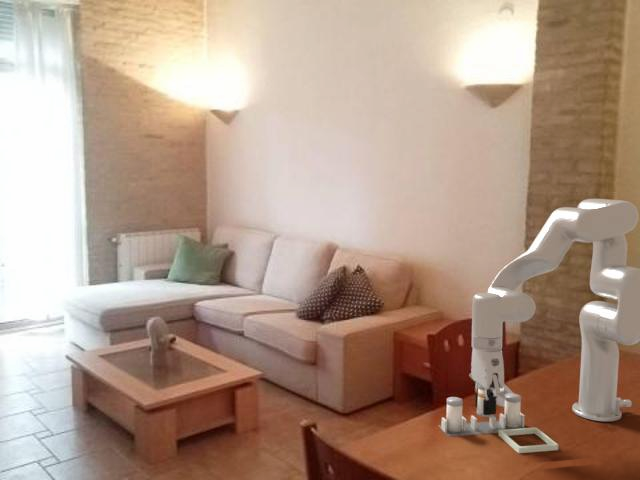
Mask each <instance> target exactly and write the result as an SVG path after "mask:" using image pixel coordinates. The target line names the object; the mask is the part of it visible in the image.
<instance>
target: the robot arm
mask: <svg viewBox="0 0 640 480" xmlns="http://www.w3.org/2000/svg"><path fill="white" fill-rule="evenodd" d="M639 216H640V215H639V211H638V208H637V207H636V206H635V204H634V203H632V202H630V201H626V200H622V199H609V198H608V199H607V198H586V199H583V200H581V201H580V202H579V203H578V204H577V207H572V206H571V207H570V206H569V207H567V206H565V207H558V208H556V209H555V210H553V211H552V213H551V214H550V215H549V216H548V218H547V219H546V221H545V223H544V225H543V226H542V227H541V229H540V231H539V232H538V234H537V235H536V236H535V238H534V240H533V242H531V245H530V246H529V247H528V248H527V250H526V251H525V252H523V253H522V254H520V255H519V256H518V257H516V258H515V259H513V260H512V261H511V262H509V263H508V264H507V265H505V266H504V267H503V268H502V269H501V270H500V271H499V272H498V273H497V274H496V276H495V277H494V279H493V281H492V282H491V284H490V286H489V287H488V288H487V291H486V292H479V293H478V292H477V293H475V294H474V295H473V297H472V305H471V312H472V313H471V348H472V350H471V351H472V352H471V364H470V371H471V372H470V373H471V375H472V378H473V379H474V381H473V383H474V384H475V385H474V386H475V387H474V391H475V399H474V400H475V403H474V404H475V405H474V407H475V408H476V409H477V402H478V383H479V384H480V385H481V386H483V387H484V389H485V399H484V401H483V414H484V415H492V414H493V415H495V414H497V404H496V400H497V396H498V395H500V394H501V392H500V388H503V387H504V384H505V367H504V366H505V365H504V357H503V351H502V349H503V329H504V328H503V323H504V322H507V323H508V322H510V323H523V322H526V321H529V320H530V319H531V318H533V316H534V315H535V313H536V309H537V305H536V302H535V300H534V299H533V298H532V297H531V296H530V295H528V294H526V293H524V292H522V291H517V289H518V288H519V287H520V286H521V285H522V284H523V283H524V282H526V281H528V280H529V279H531V278H534V277H537V276H540V275H544V274H548V273H550V272H552V271H554V270H556V269H557V268H558V267H559V265H560V264H561V262H562V261H563V259H564V257H565V255H567V253H568V251H569V249H571V246H572V245H573V243H574V242H581V243H592V258H591V265H590V266H591V267H590V274H589V275H590V276H589V288H590V290H591V292H592V293H593V294H595V295H596V296H600V297H602V298H606V299H609V300H613V301H617V304H614V303H610V302H606V301H603V300H592V301H589V302H587V303H585V304H584V306H583V307H581V310H580V312H579V317H578V319H579V320H578V321H579V329H580V337H581V352H580V354H581V355H580V372H579V375H580V376H579V386H578V387H579V389H578V390H579V391H578V392H579V393H578V402H574V403H573V404H572V406H571V407H572V412H574V414H575V415H577V416H579V417H581V418H584V419H587V420H589V421H590V420H591V421H596V422H615V421H619V420H620V419H622V415H623V414H622V411H621V410H620V409H622V408H627V407H628V408H629V407H632V405H633V404H632V403H633V402H632V401H631V400H630V399H622V398H621V397H617V393H618V377H619V376H618V375H619V361H620V350H619V346H618V344H620V345H627V346H633V345H635V344H637V343H639V342H640V268H637V267H634V266H629V265H627V264H628V263H627V258H628V241H627V238H626V234H628V233H630V232H632V231H633V230H634V229H635V228H636V225H638V222H639V218H640V217H639ZM472 378H471V379H472ZM490 385H492V386H493V387H489V386H490ZM488 390H493V391H492V392H490V393H489V391H488Z"/></svg>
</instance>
